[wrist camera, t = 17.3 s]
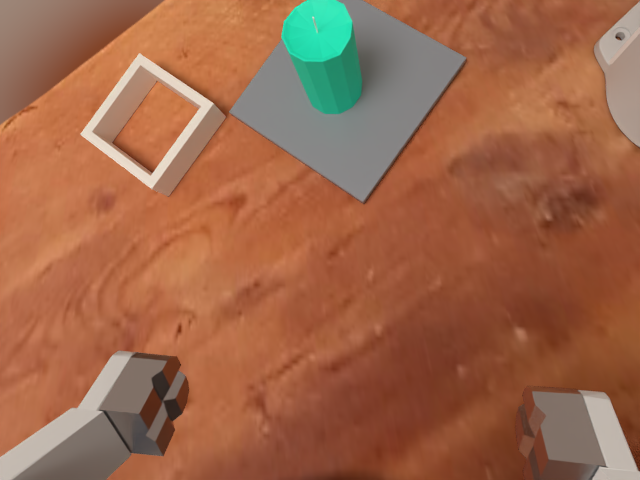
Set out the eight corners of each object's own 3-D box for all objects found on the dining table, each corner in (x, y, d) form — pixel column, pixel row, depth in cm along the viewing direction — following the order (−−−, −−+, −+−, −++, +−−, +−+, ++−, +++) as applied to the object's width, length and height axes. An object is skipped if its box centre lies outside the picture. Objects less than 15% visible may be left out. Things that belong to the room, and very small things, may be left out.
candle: (311, 120, 47) (282, 60, 36) (302, 69, 48) (271, -6, 37) (367, 107, 46) (357, 41, 35) (356, 54, 47) (343, -27, 36)
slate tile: (326, -15, 50) (324, -21, 49) (464, 62, 46) (466, 57, 45) (232, 115, 50) (229, 111, 49) (363, 204, 46) (362, 202, 45)
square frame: (156, 69, 53) (139, 53, 49) (226, 117, 50) (213, 103, 47) (101, 145, 52) (80, 134, 49) (168, 196, 50) (151, 188, 47)
